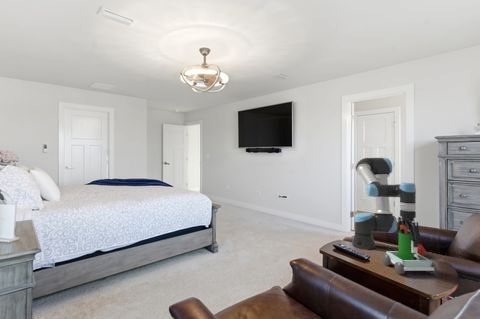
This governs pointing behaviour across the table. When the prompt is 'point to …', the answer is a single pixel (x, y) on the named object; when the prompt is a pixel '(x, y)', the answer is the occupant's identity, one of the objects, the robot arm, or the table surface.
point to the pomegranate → (420, 250)
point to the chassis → (409, 263)
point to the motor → (405, 245)
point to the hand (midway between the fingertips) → (407, 249)
